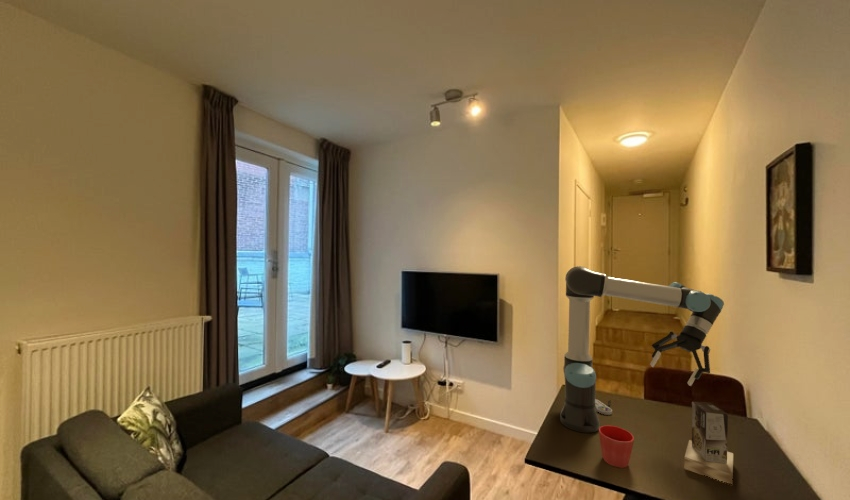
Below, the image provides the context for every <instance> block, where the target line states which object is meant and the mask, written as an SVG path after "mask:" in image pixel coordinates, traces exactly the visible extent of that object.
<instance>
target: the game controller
mask: <svg viewBox="0 0 850 500" xmlns="http://www.w3.org/2000/svg"><path fill="white" fill-rule="evenodd" d="M607 402H608V403H607V405H606V404H605V403H603V401H600V400H599V399H596V398H595V408H596V412H597V413H598V412H599V414H600V413H601V415H603V414H604V416H612V415H613V409H612V408H611V402H612V401H611V400H609V401H607Z"/></svg>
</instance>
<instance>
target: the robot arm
mask: <svg viewBox="0 0 850 500" xmlns="http://www.w3.org/2000/svg"><path fill="white" fill-rule="evenodd" d="M604 296H607V297H612V298H613V297H614V298H620V299H625V300H626V299H627V300H631V301H639V302H643V303H650V304H656V305H661V306H667V307H674V308H678V309H679V308H680V309H684V310H688V311H690V312H691V314H690V316H689V318H688V320H687V322H686V323H685V325H684V326H683V328H682V330H681V332H680V333H679V334H678V335H677V334H675V333H674V331H670V332H669V333H668V334H667V335H666V336H664V337H662V338H661V339H659V340H657V341H656V342H653V343H652V344H651V346H652V348H653V350H654V351H653V353H652V354H651V357H652V360H651V361H650V363H649V365H650V366H651V367H652V368H654V367H655V366H656V364H657V362H658V360H659V359H660V357H661V356H662V353H661V352H666V351H668V350H672V349H675V348H680V349H682V350H685V351H686V352H688V353H692V356H693V357H694V360H695V362H696V366H697V368H695V369H694V371H693V372H692V374H691V375H690V378H689V379H688V381H687V385H688V386H690V387H692V386H693V383H694V382H695V380H699V379H700V378H701V376H702V374H709V375H710V374H711V367H710V355H709V354H710V351H711V349H710V347H709V346H708V345H706V346H705V345H703V343H704V341H705V339H706V338H707V335H708V334H709V332H710V330H711V329H712V327H713V325H714V323H715V321H716V320H717V318H718V316H719V315H720V314H721V313H722V310H723V308H724V306H725V303H724V300H723V299H722V298H720V297H719V296H717V295H714V294H711V293H705V292H704V291H701V290H696V289H693V288H689V287H687V286H685V285H684V284H682V283H680V282H676V281H674V282H672V283H670V284H669V285H663V284H657V283H656V284H655V283H649V282H643V281H636V280H630V279H624V278H615V277H611V276H608V275H606V274H605V273H602V272H597V271H596V272H595V271H592V270H590V269H589V268H587V267H585V266H581V265H579V266H573V267H571V268H570V269H569V270H568V271H567V272H566V274H565V297H566V298H567V299H568V300H569V302H568V335H567V336H568V342H567V343H568V344H567V347H568V348H567V352H565V353H564V359H563V360H564V363H563V375H564V403H563V406H562V409H561V411H560V414H559V420H560V423H561V424H562V425H563V426H564V427H566V428H567V429H570V430H572V431H576V432H579V433H586V434H588V433H589V434H590V433H595V432H599V428H600V427H601V426H600V425H601V424H600V423H601V421H600V419H599V414H598V412H597V411H596V409H595V399H596V383H597V375H596V371H595V369H594V368H593V357H592V356H591V355H590V321H591V319H590V317H591V315H590V312H591V311H590V309H591V300H593V299H594V298H595V297H597V298H598V297H599V298H602V297H604ZM675 339H676V340H675ZM671 340H675V341H673V342H670V341H671ZM668 342H669V343H668ZM700 349H701V350H702V351H701V352H703V361H704V362H703V363H704V367H703V365H702V363H701V361H700V358H699V354H698V352H697V350H700Z"/></svg>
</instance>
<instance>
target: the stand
mask: <svg viewBox="0 0 850 500" xmlns="http://www.w3.org/2000/svg"><path fill="white" fill-rule="evenodd" d="M683 458H684V461H683V462H684V465H683V469H684V470H687V471H690V472H692V473H696V474H697V475H701V476H704V475H705V476H704V477H706V476H708V477H707V478H709V477H710V478H709V479H712V478H713V480H715V479H717V480H716V481H718V480H719V481H718V482H721V481H723V482H722V483H724V482H727V483H731V484H732V485H733V480H732V479H733V478H734V477H733V476H734V475H733V473H734V453H733V452H730V451H727V464H724V463H717V462H710V461H705V460H704V459H703V458H702V457H701V456H700V454H699V453H698V452H697V451H696V450H695V449H694V448H693V447H692V439H689V440H688V443H687V446H686V450H685V454H684V457H683Z"/></svg>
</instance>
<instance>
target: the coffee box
mask: <svg viewBox="0 0 850 500" xmlns="http://www.w3.org/2000/svg"><path fill="white" fill-rule="evenodd" d="M691 406H692V407H691V441H692V447H693V448H694V449H695V450H696V451H697V452H698V453H699V454H700V456H701V457H702V458H703V459H704V460H705V461H710V462H717V463H724V464H727V452H728V429H729V427H728V426H729V425H728V424H729V413H728V412H725V411H724V410H723V409H721V408H720V407H719V406H717V405H716V404H715V403H713V402H708V401H707V402H706V401H691Z"/></svg>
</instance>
